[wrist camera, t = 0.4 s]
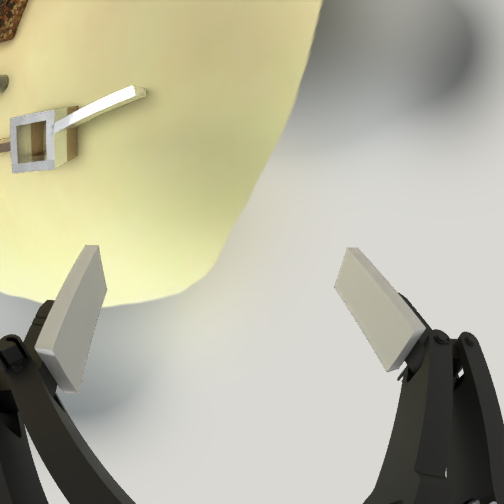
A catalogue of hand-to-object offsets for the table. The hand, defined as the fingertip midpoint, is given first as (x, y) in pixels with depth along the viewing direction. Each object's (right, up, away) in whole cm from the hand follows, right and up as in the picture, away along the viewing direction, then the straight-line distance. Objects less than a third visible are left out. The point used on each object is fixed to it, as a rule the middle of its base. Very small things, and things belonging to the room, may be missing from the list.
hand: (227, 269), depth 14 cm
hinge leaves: (-27, +19, +15) cm, 36 cm away
